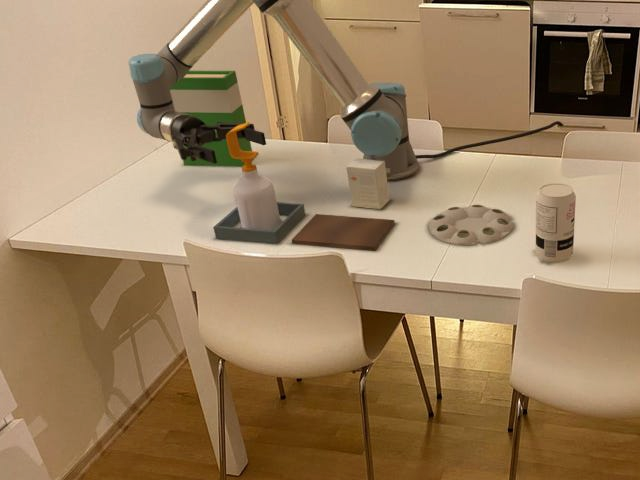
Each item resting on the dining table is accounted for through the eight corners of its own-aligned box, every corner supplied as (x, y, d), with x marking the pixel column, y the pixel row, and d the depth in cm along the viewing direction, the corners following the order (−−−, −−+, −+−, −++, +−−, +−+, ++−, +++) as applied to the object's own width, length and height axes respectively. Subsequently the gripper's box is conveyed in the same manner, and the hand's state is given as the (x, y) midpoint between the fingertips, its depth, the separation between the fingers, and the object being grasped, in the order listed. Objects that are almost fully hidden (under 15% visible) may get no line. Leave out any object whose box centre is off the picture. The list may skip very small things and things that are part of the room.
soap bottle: (271, 236, 175) (249, 132, 161) (235, 233, 177) (210, 130, 163) (287, 219, 182) (267, 118, 168) (252, 217, 184) (230, 117, 170)
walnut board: (394, 223, 179) (394, 219, 178) (375, 250, 168) (374, 246, 167) (316, 217, 183) (315, 213, 182) (292, 243, 172) (291, 239, 171)
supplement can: (532, 247, 167) (533, 183, 158) (569, 245, 167) (572, 181, 159) (537, 265, 160) (539, 199, 152) (576, 262, 161) (579, 196, 152)
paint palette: (456, 253, 166) (456, 245, 165) (414, 222, 179) (413, 214, 178) (529, 230, 174) (529, 222, 173) (483, 201, 188) (483, 194, 186)
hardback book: (184, 165, 214) (161, 78, 200) (195, 155, 220) (173, 70, 206) (243, 166, 212) (224, 78, 198) (253, 156, 218) (235, 70, 204)
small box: (390, 200, 190) (385, 160, 184) (380, 210, 185) (375, 169, 179) (361, 197, 192) (356, 157, 186) (351, 206, 188) (345, 165, 181)
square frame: (305, 215, 184) (303, 203, 182) (277, 244, 172) (275, 232, 170) (247, 210, 187) (245, 199, 186) (216, 238, 175) (212, 227, 173)
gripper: (231, 131, 190) (285, 147, 179) (142, 161, 175) (196, 181, 164) (224, 101, 186) (280, 116, 175) (132, 129, 170) (187, 148, 159)
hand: (239, 147), depth 169 cm, fingers open, 13 cm apart
